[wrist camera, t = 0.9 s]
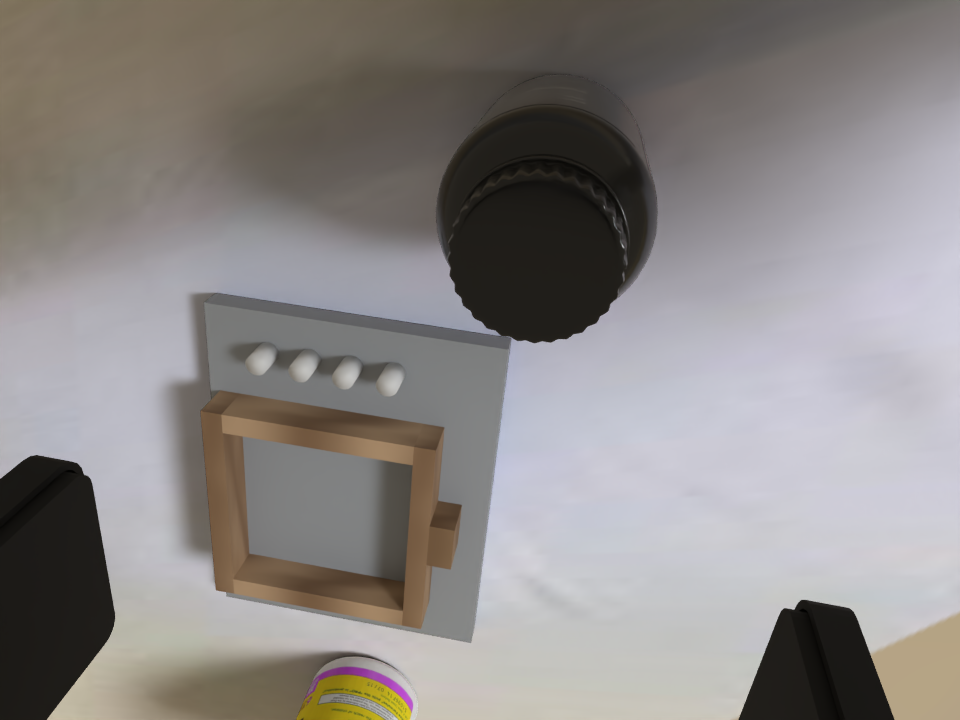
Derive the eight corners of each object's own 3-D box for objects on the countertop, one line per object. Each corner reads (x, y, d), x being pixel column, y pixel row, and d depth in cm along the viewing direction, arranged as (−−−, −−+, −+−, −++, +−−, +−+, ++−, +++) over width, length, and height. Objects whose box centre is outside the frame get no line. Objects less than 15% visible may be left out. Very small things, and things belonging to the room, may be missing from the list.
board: (511, 338, 34) (504, 364, 32) (474, 626, 42) (466, 663, 40) (215, 293, 35) (188, 314, 33) (235, 581, 44) (215, 614, 41)
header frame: (469, 431, 35) (462, 455, 33) (451, 604, 40) (444, 633, 38) (220, 390, 36) (200, 411, 34) (232, 564, 41) (215, 590, 40)
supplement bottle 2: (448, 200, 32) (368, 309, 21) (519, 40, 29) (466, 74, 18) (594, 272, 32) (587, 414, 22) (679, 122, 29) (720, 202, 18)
